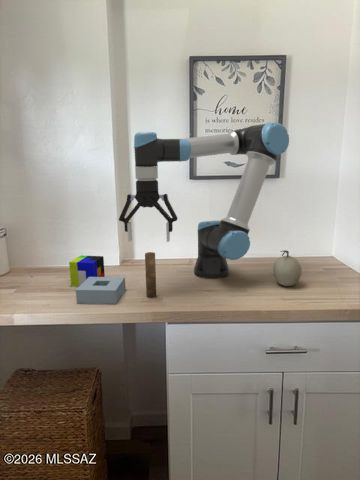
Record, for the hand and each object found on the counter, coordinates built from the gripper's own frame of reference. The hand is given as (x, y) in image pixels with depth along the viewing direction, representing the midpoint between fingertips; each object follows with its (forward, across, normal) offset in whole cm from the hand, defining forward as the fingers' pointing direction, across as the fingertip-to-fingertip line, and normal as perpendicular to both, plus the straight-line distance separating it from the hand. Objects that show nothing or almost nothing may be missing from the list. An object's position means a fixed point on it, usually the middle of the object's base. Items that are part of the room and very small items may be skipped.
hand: (149, 241), depth 123 cm
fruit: (+21, -51, -14) cm, 57 cm away
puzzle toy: (+21, +28, -13) cm, 37 cm away
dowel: (+21, 0, 0) cm, 21 cm away
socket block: (+21, +18, +1) cm, 27 cm away
